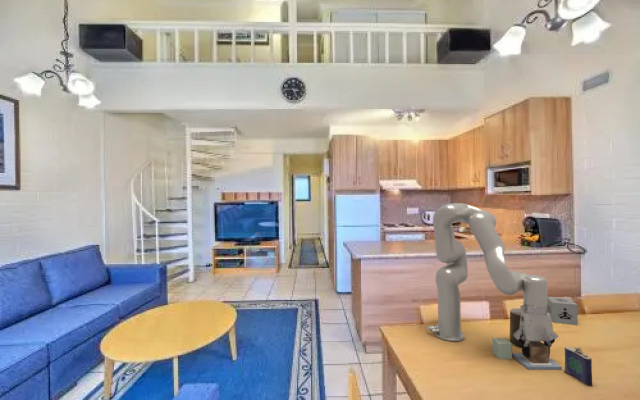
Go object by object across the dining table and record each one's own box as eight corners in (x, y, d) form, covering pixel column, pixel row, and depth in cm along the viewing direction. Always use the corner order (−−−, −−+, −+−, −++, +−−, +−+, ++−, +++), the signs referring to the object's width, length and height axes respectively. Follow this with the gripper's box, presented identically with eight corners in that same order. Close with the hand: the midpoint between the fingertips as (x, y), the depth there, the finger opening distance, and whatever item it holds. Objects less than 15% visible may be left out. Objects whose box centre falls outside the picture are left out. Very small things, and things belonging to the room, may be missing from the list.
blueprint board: (527, 369, 116) (527, 366, 116) (512, 355, 126) (512, 352, 126) (561, 369, 115) (561, 366, 115) (543, 355, 125) (543, 353, 125)
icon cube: (546, 315, 166) (546, 296, 166) (569, 317, 163) (569, 298, 162) (552, 322, 157) (552, 302, 157) (577, 325, 153) (577, 304, 153)
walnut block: (532, 363, 118) (532, 347, 118) (522, 355, 124) (522, 339, 124) (548, 363, 118) (548, 347, 118) (538, 355, 124) (538, 339, 124)
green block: (498, 359, 124) (498, 343, 124) (492, 352, 129) (492, 337, 129) (511, 359, 124) (511, 343, 123) (505, 352, 129) (504, 337, 128)
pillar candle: (528, 351, 129) (528, 314, 129) (504, 341, 138) (504, 307, 137) (541, 346, 133) (542, 310, 133) (518, 337, 142) (518, 303, 142)
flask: (562, 371, 114) (562, 341, 114) (570, 370, 115) (569, 341, 115) (587, 386, 105) (587, 354, 105) (595, 385, 106) (595, 353, 105)
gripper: (517, 312, 117) (517, 360, 117) (566, 312, 116) (566, 360, 117) (506, 305, 125) (506, 350, 125) (552, 305, 124) (552, 350, 124)
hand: (535, 355), depth 121 cm, fingers open, 6 cm apart
